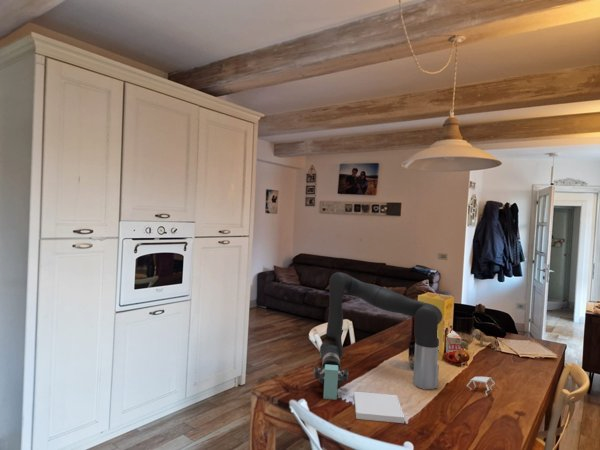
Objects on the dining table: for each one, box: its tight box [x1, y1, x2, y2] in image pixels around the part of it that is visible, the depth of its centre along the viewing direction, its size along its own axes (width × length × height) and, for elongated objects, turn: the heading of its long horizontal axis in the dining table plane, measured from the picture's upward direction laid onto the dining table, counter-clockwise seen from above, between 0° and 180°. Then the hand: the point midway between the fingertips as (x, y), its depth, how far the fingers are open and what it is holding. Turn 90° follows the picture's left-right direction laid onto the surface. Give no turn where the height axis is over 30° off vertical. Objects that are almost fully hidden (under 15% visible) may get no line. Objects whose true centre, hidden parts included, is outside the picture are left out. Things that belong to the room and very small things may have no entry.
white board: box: [353, 391, 406, 424], centre depth 137 cm, size 16×16×2 cm
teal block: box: [322, 364, 339, 401], centre depth 145 cm, size 5×5×11 cm
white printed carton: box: [446, 329, 463, 353], centre depth 198 cm, size 21×6×12 cm, turn 176°
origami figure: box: [466, 376, 496, 396], centre depth 157 cm, size 12×8×5 cm
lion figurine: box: [472, 328, 502, 352], centre depth 211 cm, size 15×5×9 cm, turn 53°
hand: (330, 381), depth 143 cm, fingers open, 6 cm apart
